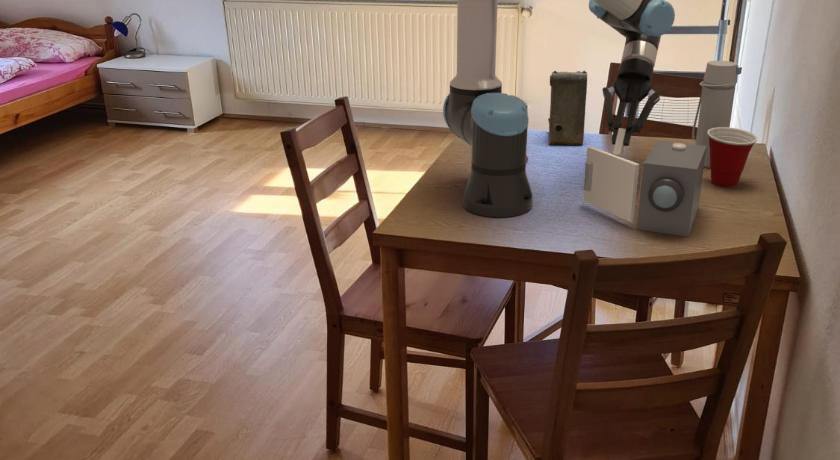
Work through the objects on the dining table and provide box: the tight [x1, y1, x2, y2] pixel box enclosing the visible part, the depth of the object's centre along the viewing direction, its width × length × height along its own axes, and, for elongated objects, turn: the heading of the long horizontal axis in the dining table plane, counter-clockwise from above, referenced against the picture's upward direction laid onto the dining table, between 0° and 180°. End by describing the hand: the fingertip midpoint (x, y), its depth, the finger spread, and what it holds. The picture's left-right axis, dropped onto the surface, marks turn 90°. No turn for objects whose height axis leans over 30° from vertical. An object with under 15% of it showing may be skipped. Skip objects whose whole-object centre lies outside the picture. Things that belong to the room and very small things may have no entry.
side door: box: [583, 145, 640, 222], centre depth 160 cm, size 14×2×12 cm, turn 30°
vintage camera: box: [547, 70, 588, 146], centre depth 212 cm, size 10×16×20 cm, turn 174°
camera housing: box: [636, 140, 707, 238], centre depth 158 cm, size 18×10×15 cm, turn 155°
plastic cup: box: [707, 126, 758, 188], centre depth 178 cm, size 11×11×12 cm
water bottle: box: [691, 60, 738, 169], centre depth 189 cm, size 9×8×25 cm
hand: (616, 157), depth 171 cm, fingers closed
